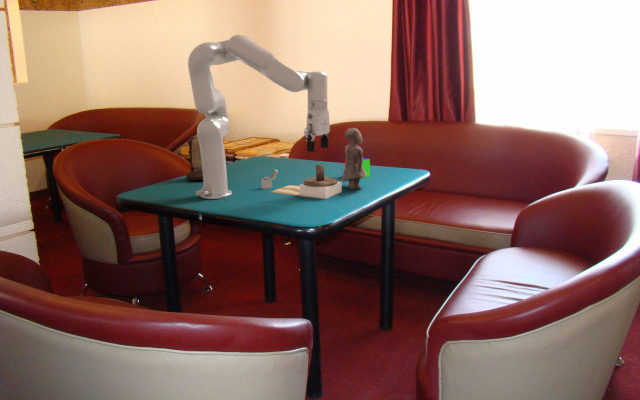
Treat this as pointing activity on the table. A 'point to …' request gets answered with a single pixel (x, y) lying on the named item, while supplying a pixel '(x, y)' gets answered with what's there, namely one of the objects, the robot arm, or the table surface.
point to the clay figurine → (353, 159)
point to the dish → (320, 191)
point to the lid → (320, 179)
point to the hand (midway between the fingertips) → (317, 149)
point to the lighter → (268, 180)
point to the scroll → (195, 160)
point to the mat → (288, 190)
